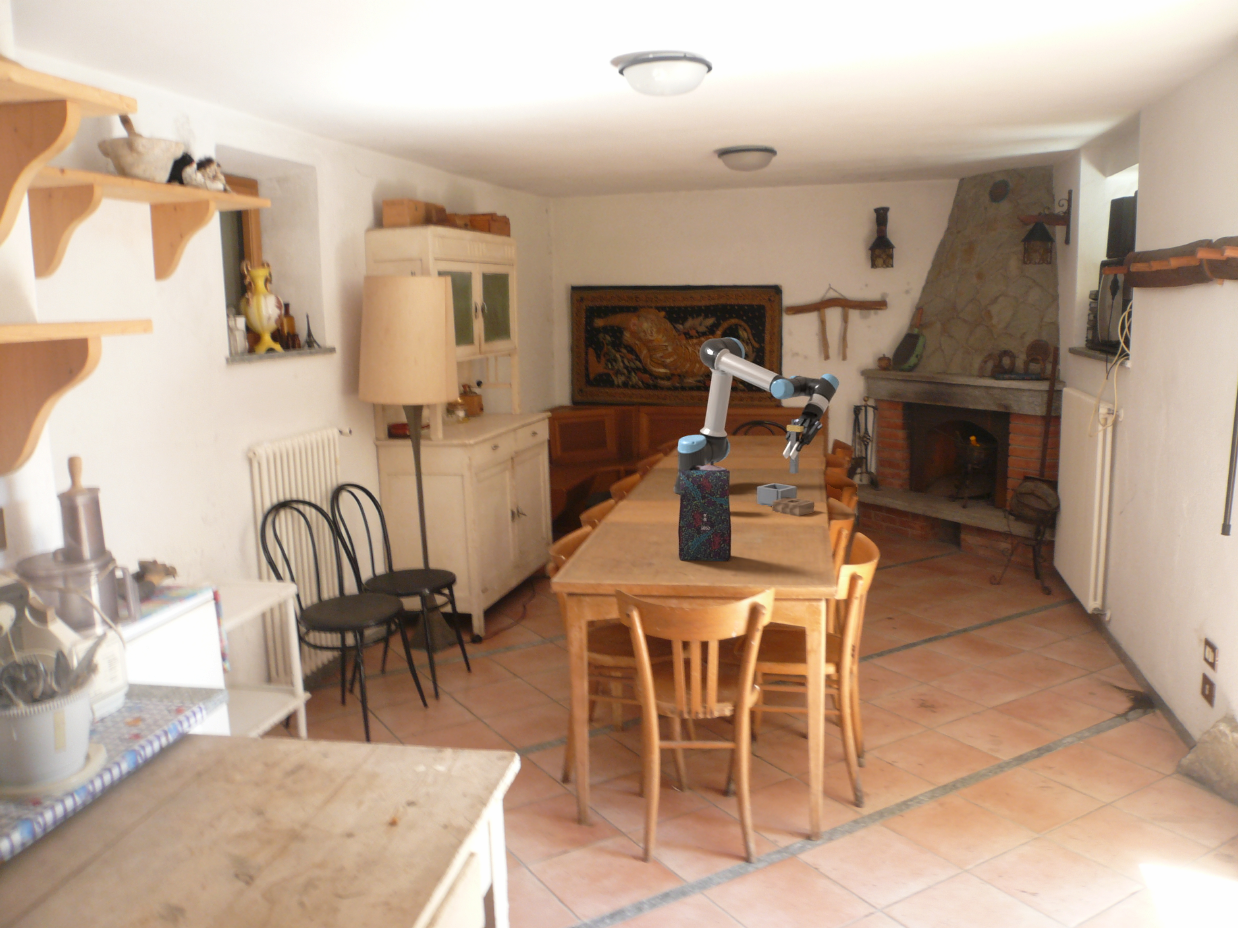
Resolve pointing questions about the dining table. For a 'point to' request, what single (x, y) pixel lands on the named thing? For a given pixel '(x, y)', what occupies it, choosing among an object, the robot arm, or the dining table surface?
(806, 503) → the block
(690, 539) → the decorative box
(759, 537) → the dining table surface
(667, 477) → the dining table surface
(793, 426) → the t key
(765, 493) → the grey square box
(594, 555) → the dining table surface
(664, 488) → the dining table surface
